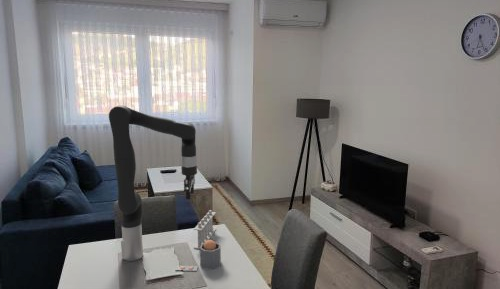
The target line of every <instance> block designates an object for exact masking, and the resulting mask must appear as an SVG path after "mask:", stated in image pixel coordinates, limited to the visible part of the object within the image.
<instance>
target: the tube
mask: <svg viewBox="0 0 500 289" xmlns="http://www.w3.org/2000/svg"><path fill="white" fill-rule="evenodd" d="M214 242H215V243H216V249H215V250H213V251H208V250H204V244H201V247H200V249H199V253H200V254H199V258H200V259H199V260H200V261H199V263H200V267H202V268H204V269H206V270H215V269H217V268H219V267H221V266H220V265H221V262H222V261H221V259H222V257H221V256H222V255H221V254H222V253H221V251H222V250H221V249H222V248H221V247H222V246H221V244H220V243H218V242H217V241H214Z"/></svg>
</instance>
